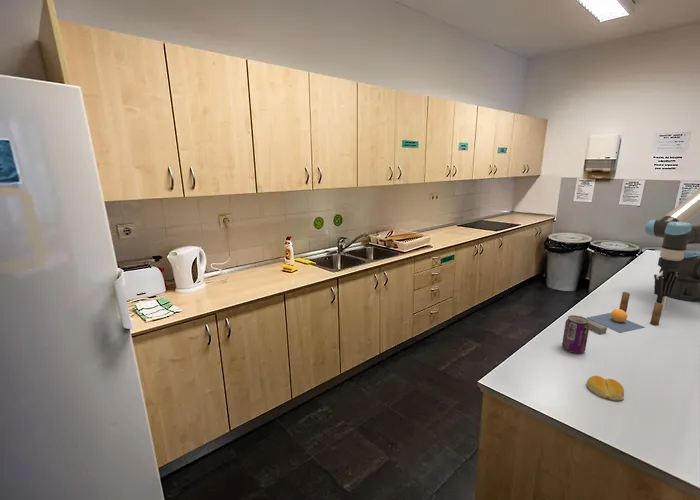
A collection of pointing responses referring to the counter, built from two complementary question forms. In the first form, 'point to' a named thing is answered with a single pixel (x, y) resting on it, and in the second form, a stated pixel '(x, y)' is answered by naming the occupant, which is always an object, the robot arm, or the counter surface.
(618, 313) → the ball
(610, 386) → the bread roll
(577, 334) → the beverage can
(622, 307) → the post
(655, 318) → the post
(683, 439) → the counter surface
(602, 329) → the stopper
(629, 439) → the counter surface
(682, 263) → the robot arm
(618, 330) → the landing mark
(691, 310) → the counter surface
